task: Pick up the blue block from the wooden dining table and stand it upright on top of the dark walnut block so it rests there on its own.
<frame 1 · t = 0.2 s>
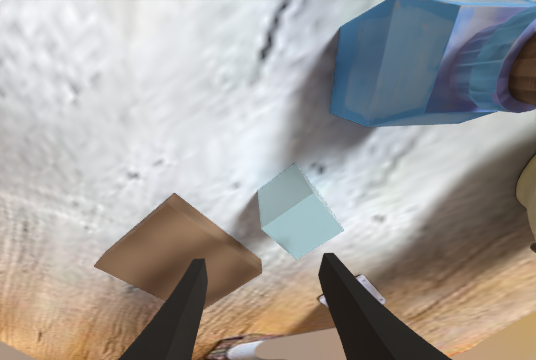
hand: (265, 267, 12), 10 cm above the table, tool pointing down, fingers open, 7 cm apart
walnut block: (189, 252, 24), on the table
perfume bottle: (368, 73, 16), on the table
blue block: (289, 191, 21), on the table
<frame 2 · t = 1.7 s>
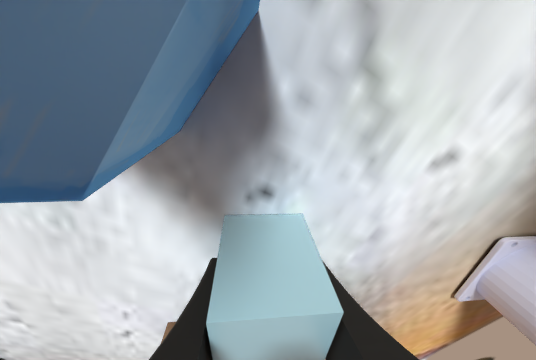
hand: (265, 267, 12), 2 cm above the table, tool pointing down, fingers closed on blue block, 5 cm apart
perfume bottle: (148, 19, 7), on the table
blue block: (263, 243, 13), on the table, touching gripper
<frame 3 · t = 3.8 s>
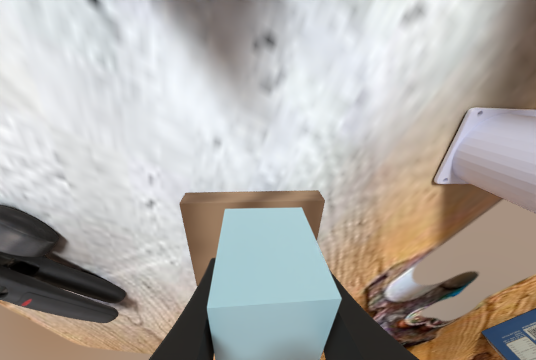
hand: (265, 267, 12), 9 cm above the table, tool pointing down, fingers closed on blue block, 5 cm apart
walnut block: (254, 231, 23), on the table
can opener: (66, 256, 22), on the table
protein box: (519, 322, 42), on the table
blue block: (262, 237, 13), point 7 cm above the table, touching gripper
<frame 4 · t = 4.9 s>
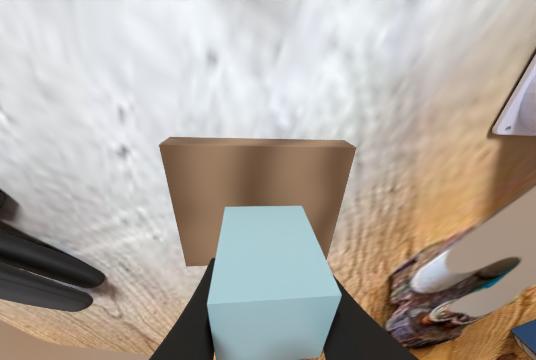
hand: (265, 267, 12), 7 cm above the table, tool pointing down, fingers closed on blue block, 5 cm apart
walnut block: (259, 198, 18), on the table
can opener: (24, 227, 17), on the table
blue block: (262, 235, 13), point 5 cm above the table, touching gripper
when the fingers open (5 cm above the table, at t = 5.8 s): blue block drops 1 cm, resting on walnut block.
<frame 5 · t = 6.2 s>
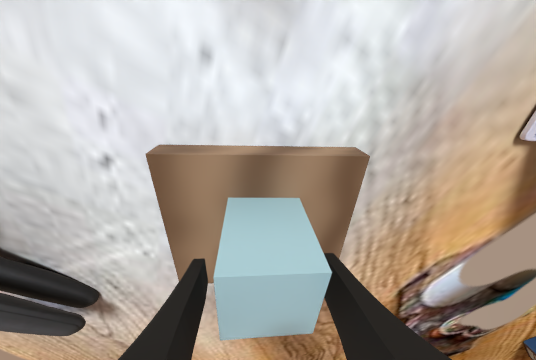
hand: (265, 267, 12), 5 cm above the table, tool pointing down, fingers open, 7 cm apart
walnut block: (260, 210, 17), on the table, touching blue block
can opener: (6, 245, 16), on the table
blue block: (262, 225, 14), point 2 cm above the table, touching walnut block
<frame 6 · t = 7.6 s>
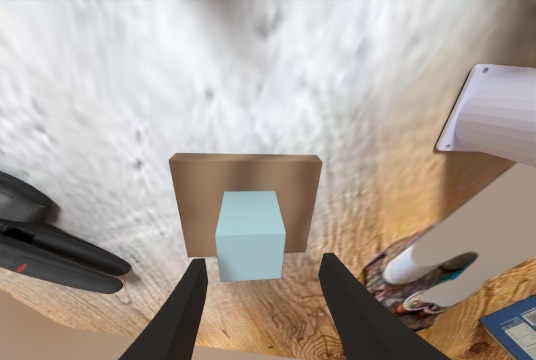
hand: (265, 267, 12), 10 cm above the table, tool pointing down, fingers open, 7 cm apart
walnut block: (248, 201, 22), on the table, touching blue block
can opener: (64, 227, 21), on the table
protein box: (517, 310, 42), on the table
blue block: (250, 211, 20), point 2 cm above the table, touching walnut block
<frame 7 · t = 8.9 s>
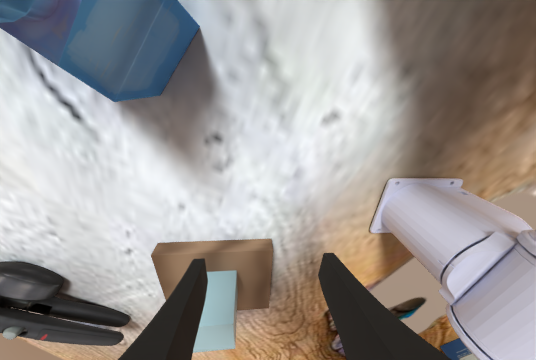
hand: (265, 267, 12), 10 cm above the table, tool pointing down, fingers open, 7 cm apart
walnut block: (220, 268, 27), on the table
can opener: (74, 293, 26), on the table
protein box: (474, 338, 46), on the table
perfume bottle: (141, 31, 14), on the table
blue block: (217, 284, 25), point 2 cm above the table
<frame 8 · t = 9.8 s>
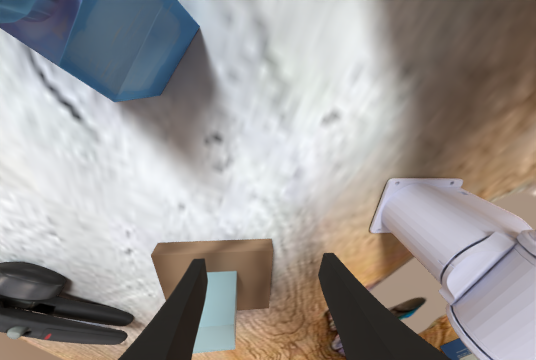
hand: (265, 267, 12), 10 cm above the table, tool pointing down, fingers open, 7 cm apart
walnut block: (220, 268, 27), on the table, touching blue block
can opener: (77, 292, 26), on the table
protein box: (474, 338, 46), on the table
perfume bottle: (141, 31, 14), on the table
blue block: (217, 284, 25), point 2 cm above the table, touching walnut block
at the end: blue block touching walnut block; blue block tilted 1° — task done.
